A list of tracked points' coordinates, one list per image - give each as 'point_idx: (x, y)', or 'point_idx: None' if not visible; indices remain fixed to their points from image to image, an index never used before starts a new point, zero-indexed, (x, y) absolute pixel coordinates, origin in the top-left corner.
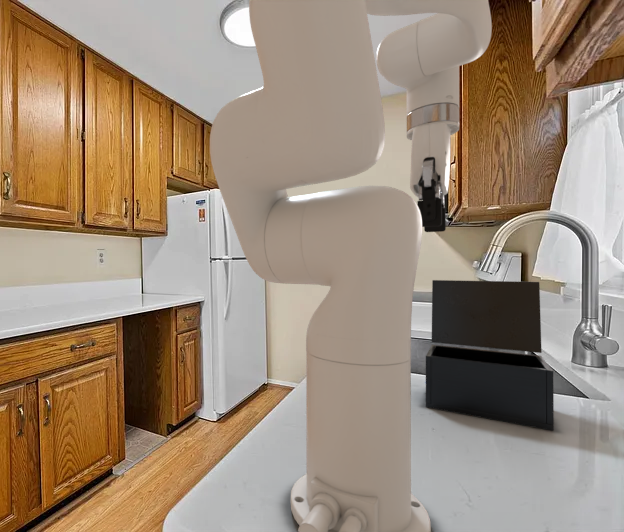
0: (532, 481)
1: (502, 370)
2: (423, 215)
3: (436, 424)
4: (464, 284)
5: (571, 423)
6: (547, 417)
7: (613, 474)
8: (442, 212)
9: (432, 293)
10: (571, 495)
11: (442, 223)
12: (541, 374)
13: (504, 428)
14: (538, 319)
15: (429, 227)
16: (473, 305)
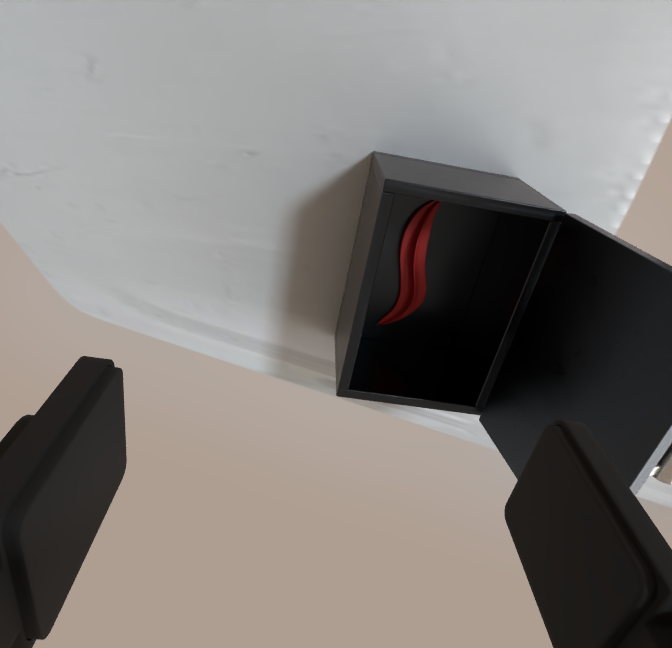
0: (127, 261)
1: (350, 323)
2: (11, 434)
3: (278, 162)
4: (664, 406)
5: None
6: (336, 340)
7: (208, 352)
8: (560, 637)
9: None
10: (116, 292)
11: (525, 547)
12: (339, 376)
13: (313, 272)
14: (516, 473)
15: (550, 463)
16: (596, 379)
